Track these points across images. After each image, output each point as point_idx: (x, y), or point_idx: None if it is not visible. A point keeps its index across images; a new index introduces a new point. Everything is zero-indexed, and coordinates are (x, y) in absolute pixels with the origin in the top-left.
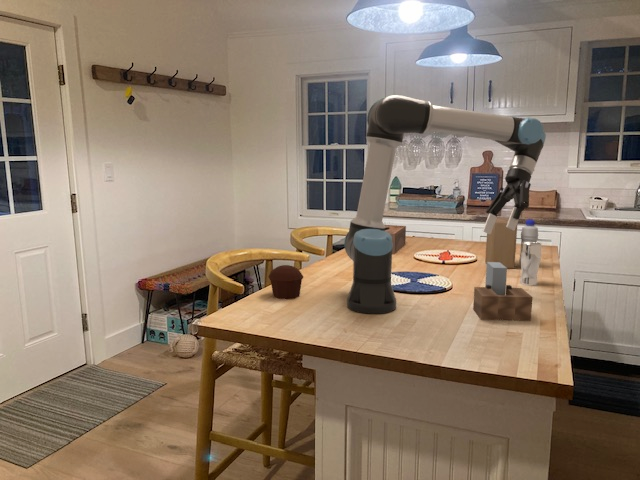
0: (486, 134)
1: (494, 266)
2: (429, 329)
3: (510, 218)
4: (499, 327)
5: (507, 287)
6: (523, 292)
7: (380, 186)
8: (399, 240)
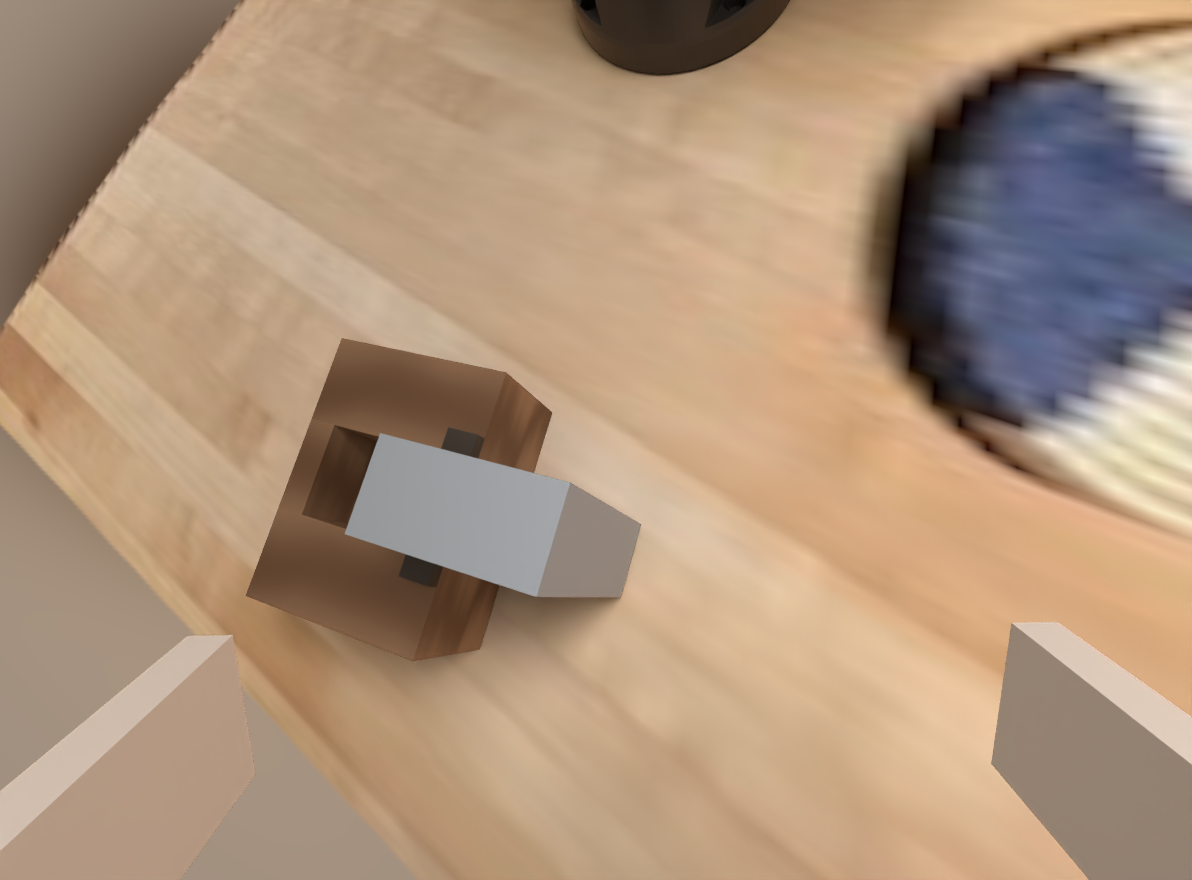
0: None
1: (412, 463)
2: (375, 154)
3: (43, 757)
4: None
5: None
6: (331, 605)
7: None
8: None
